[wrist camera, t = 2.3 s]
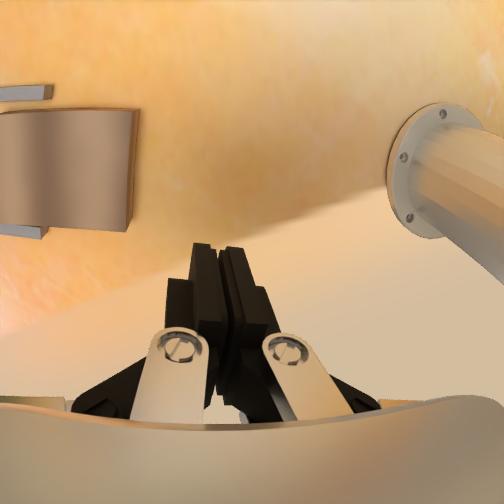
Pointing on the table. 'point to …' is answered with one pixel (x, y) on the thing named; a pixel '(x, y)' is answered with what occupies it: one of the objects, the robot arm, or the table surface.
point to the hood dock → (12, 95)
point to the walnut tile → (68, 167)
